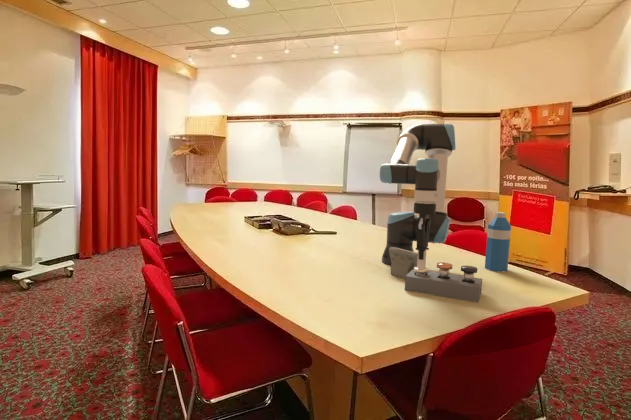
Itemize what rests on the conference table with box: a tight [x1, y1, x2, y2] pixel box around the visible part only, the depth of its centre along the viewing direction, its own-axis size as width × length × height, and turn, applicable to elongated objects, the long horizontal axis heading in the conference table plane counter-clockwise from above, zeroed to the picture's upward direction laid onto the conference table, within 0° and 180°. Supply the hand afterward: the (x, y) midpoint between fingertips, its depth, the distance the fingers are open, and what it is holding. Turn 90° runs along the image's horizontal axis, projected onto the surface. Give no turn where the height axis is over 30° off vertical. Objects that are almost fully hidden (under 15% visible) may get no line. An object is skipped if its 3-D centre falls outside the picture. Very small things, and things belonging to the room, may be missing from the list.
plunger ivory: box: [413, 266, 430, 276], centre depth 138 cm, size 5×5×5 cm
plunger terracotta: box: [436, 261, 454, 279], centre depth 134 cm, size 5×5×5 cm
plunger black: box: [460, 265, 479, 283], centre depth 130 cm, size 5×5×5 cm
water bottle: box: [484, 211, 512, 273], centre depth 167 cm, size 9×9×25 cm
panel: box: [404, 269, 483, 303], centre depth 134 cm, size 24×12×5 cm, turn 62°
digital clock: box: [389, 247, 418, 280], centre depth 153 cm, size 16×9×11 cm, turn 25°
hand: (421, 267), depth 137 cm, fingers closed
